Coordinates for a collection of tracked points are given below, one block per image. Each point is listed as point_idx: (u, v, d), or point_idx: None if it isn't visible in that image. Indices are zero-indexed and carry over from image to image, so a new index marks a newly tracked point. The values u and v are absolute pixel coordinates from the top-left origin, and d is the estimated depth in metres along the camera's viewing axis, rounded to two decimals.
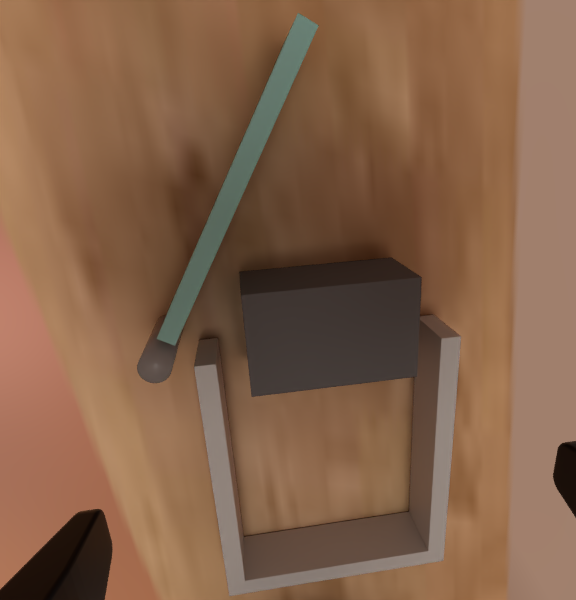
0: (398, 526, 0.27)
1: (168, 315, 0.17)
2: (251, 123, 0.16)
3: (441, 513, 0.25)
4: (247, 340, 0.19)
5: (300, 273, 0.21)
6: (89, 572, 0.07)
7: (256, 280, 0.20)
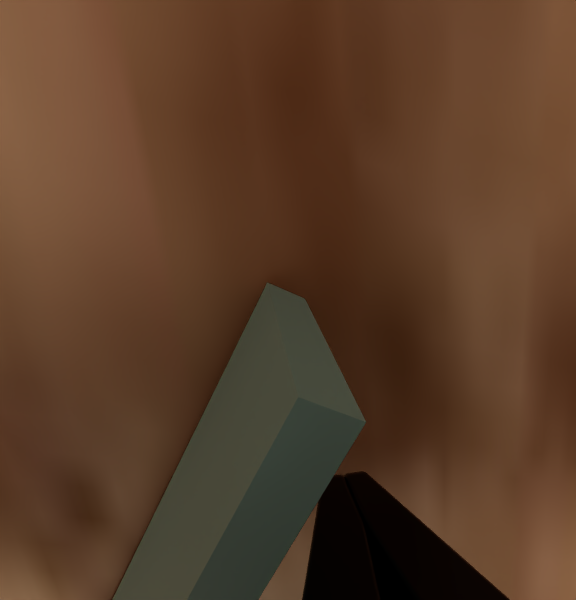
0: None
1: None
2: None
3: None
4: None
5: None
6: None
7: None
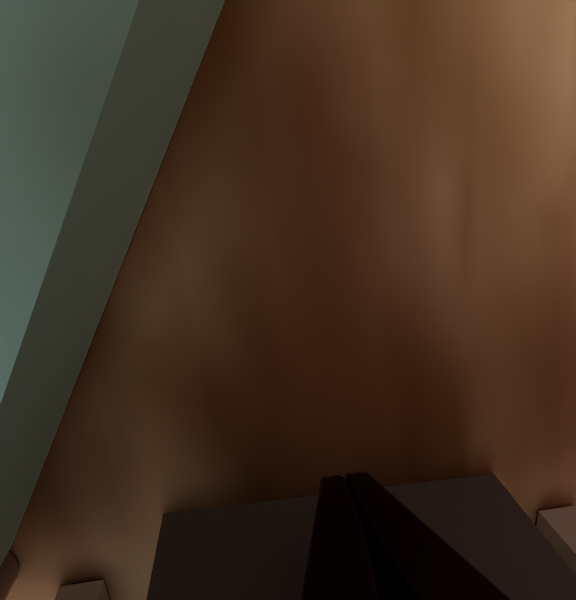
0: None
1: None
2: (2, 30, 0.03)
3: None
4: None
5: (300, 554, 0.09)
6: None
7: (190, 589, 0.08)
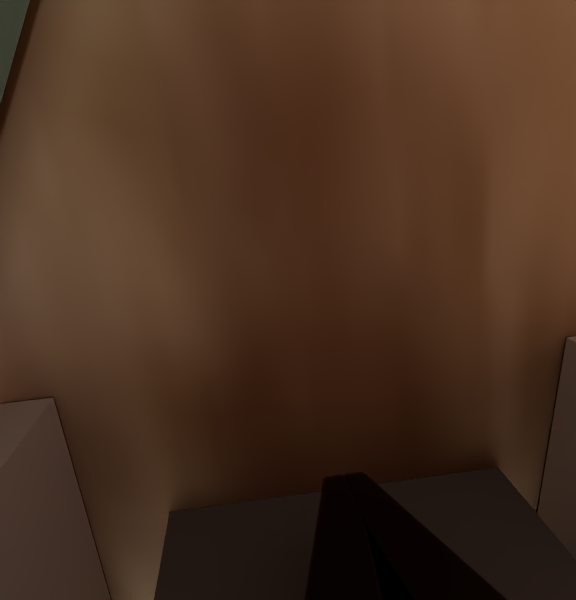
0: None
1: None
2: None
3: None
4: None
5: (305, 545, 0.09)
6: None
7: (197, 580, 0.08)
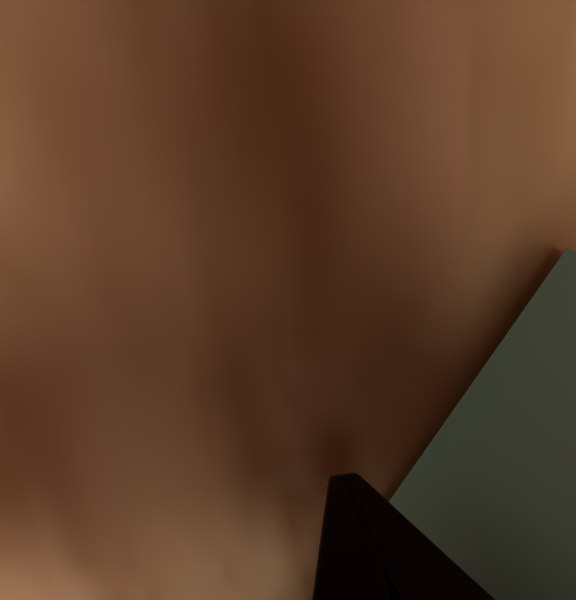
0: None
1: None
2: None
3: None
4: None
5: None
6: None
7: None
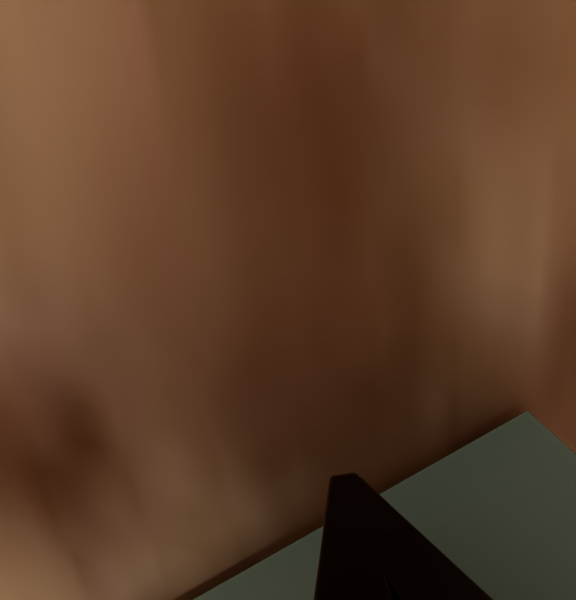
0: None
1: None
2: None
3: None
4: None
5: None
6: None
7: None
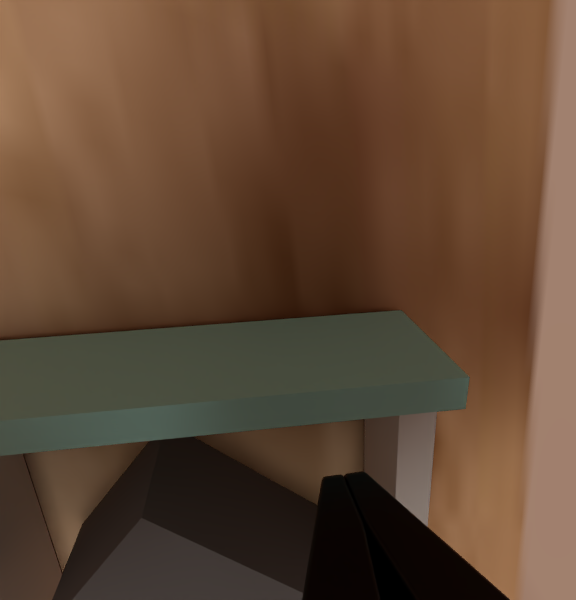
0: None
1: None
2: (289, 395, 0.09)
3: None
4: (96, 575, 0.11)
5: (240, 492, 0.13)
6: None
7: (179, 471, 0.12)
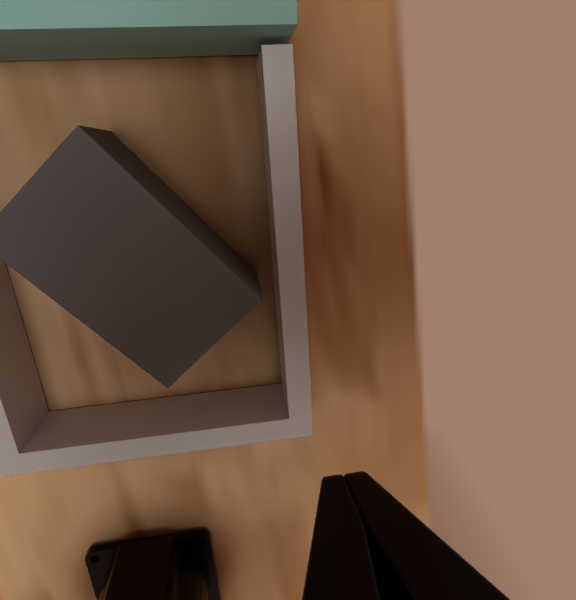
0: (260, 396, 0.20)
1: None
2: None
3: (300, 358, 0.17)
4: (35, 177, 0.13)
5: (164, 190, 0.16)
6: None
7: (115, 146, 0.15)
